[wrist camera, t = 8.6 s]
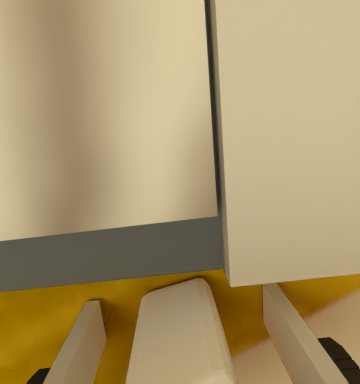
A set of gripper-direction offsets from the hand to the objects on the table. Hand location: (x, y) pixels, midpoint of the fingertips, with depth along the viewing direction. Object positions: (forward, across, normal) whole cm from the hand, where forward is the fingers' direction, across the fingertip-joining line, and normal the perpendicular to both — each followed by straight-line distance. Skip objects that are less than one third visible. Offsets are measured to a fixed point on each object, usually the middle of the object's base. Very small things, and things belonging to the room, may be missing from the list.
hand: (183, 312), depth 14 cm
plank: (-1, -4, +11) cm, 12 cm away
